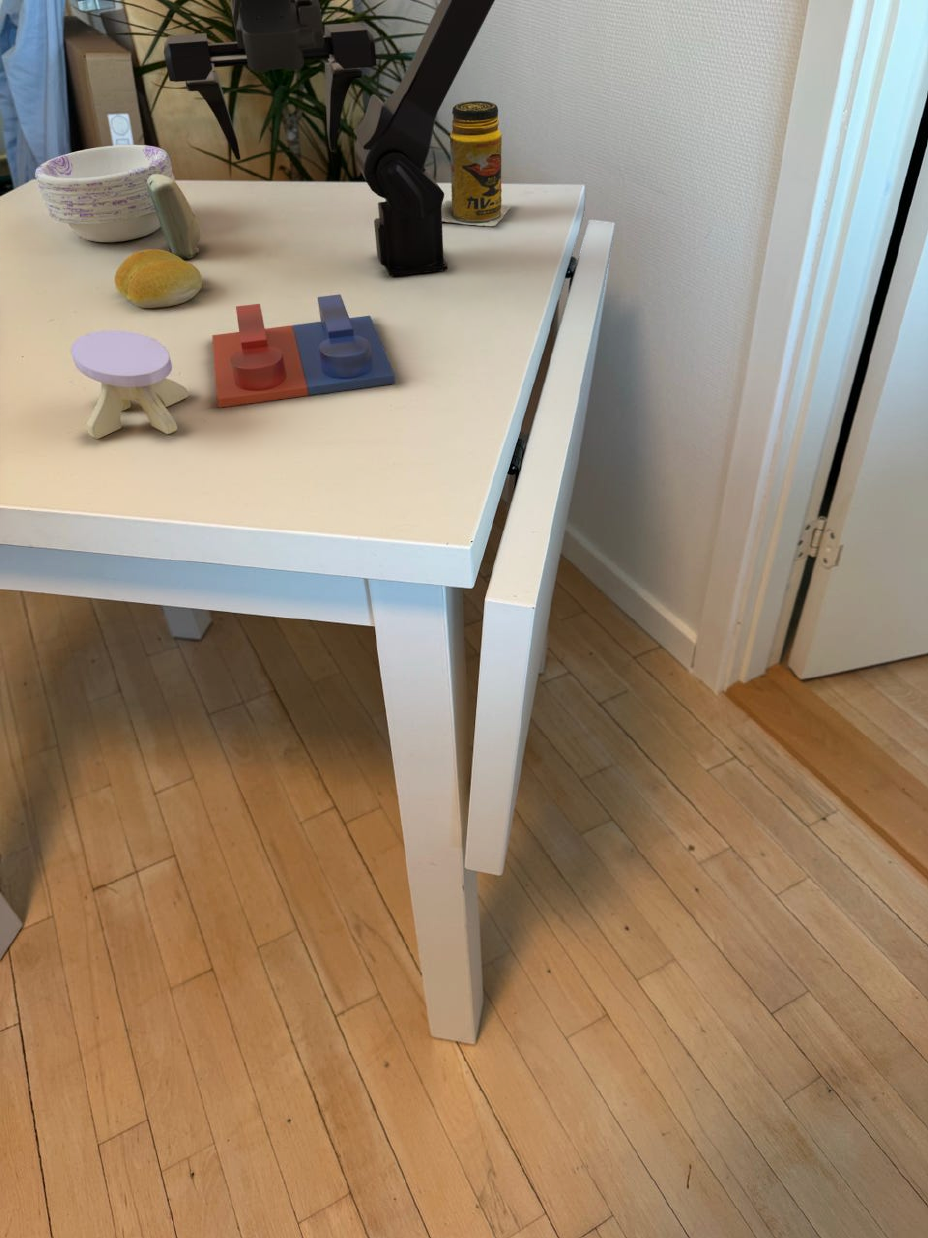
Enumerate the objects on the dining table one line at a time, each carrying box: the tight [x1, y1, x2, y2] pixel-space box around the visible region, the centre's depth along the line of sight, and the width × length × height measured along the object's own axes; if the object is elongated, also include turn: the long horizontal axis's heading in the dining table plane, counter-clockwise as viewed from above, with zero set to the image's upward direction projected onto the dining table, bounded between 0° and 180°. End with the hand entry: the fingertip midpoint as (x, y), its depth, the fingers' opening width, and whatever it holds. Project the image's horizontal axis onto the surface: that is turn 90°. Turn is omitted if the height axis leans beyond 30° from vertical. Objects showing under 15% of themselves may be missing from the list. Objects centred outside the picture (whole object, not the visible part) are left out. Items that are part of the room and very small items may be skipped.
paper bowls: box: [34, 144, 176, 243], centre depth 104 cm, size 15×15×8 cm
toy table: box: [70, 329, 189, 440], centre depth 70 cm, size 10×9×6 cm
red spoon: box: [230, 303, 286, 391], centre depth 77 cm, size 12×4×3 cm, turn 14°
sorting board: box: [211, 315, 396, 409], centre depth 78 cm, size 15×13×1 cm
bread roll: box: [114, 248, 203, 309], centre depth 90 cm, size 8×9×4 cm
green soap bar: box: [147, 174, 202, 261], centre depth 98 cm, size 6×5×8 cm
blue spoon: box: [317, 293, 372, 379], centre depth 78 cm, size 12×4×3 cm, turn 14°
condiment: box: [441, 100, 512, 227], centre depth 104 cm, size 7×8×12 cm
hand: (285, 154), depth 86 cm, fingers open, 9 cm apart
